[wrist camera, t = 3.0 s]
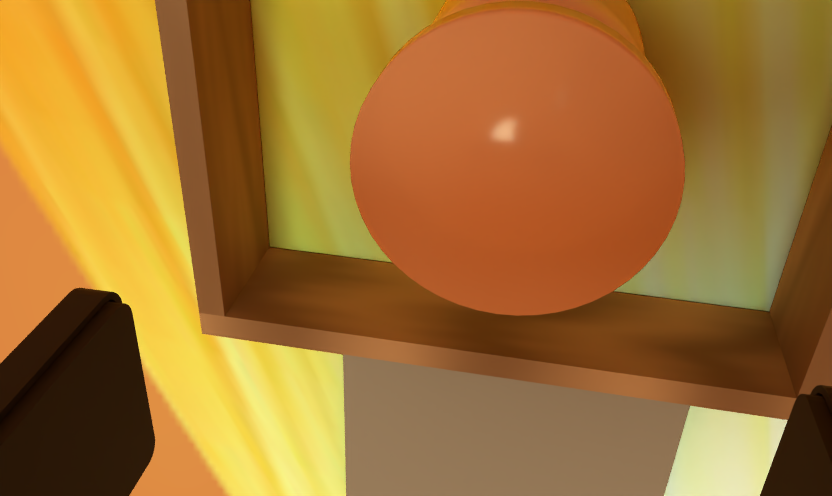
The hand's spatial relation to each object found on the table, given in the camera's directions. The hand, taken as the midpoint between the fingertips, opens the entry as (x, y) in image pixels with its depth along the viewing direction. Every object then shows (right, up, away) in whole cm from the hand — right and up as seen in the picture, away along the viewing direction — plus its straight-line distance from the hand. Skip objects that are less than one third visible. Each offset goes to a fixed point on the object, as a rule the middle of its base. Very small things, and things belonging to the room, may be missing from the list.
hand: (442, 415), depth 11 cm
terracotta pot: (+3, +7, +11) cm, 14 cm away
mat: (+3, -5, +19) cm, 20 cm away
